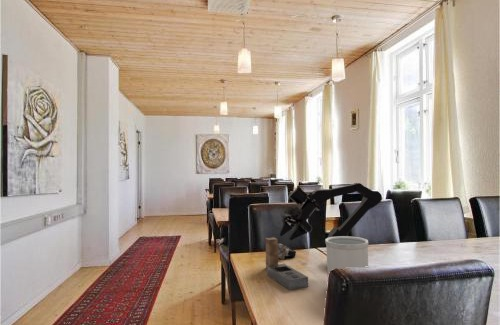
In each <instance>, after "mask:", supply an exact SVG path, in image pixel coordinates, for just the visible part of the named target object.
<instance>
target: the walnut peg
mask: <svg viewBox="0 0 500 325" xmlns="http://www.w3.org/2000/svg"><path fill="white" fill-rule="evenodd" d="M278 240H279V239H278V238H276V237H266V238H265V269H267V266H272V265H279V258H278V244H279V242H278Z"/></svg>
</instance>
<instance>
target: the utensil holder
mask: <svg viewBox="0 0 500 325" xmlns="http://www.w3.org/2000/svg"><path fill="white" fill-rule="evenodd" d="M324 242H325V246H326V248H325V249H326V268H327V276H328V275H329V272H330V271H331V270H332V269H335V268H346V267H365V266H368V267H369V240H368V239H367V238H365V237H364V238H363V237H357V236H349V235H347V236H337V237H329V238H328V237H327V238H325V240H324Z"/></svg>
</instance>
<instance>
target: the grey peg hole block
mask: <svg viewBox="0 0 500 325" xmlns="http://www.w3.org/2000/svg"><path fill="white" fill-rule="evenodd" d="M266 269H267V271H266V272H267V276H269V277H270V279H273V280H274V281H276V282H278V283H279V285H282V286H283V287H285V289H287V290H289V291H291V290H293V291H294V290H297V289H304V288H307V287H309V276H307V275H305V274H303V273H302V272H301V271H298V270H297V269H295V268H293V267H291V266H289V265H287V264H286V263H281V264H280V263H278V265H272V266H267V268H266Z"/></svg>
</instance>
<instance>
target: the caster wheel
mask: <svg viewBox="0 0 500 325" xmlns="http://www.w3.org/2000/svg"><path fill="white" fill-rule="evenodd" d="M296 255H297V250H294V249H292V248H290V247H287V245H284V244H283V243H278V260H279V259H280V260H285V257H292V258H294V257H296Z"/></svg>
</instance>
